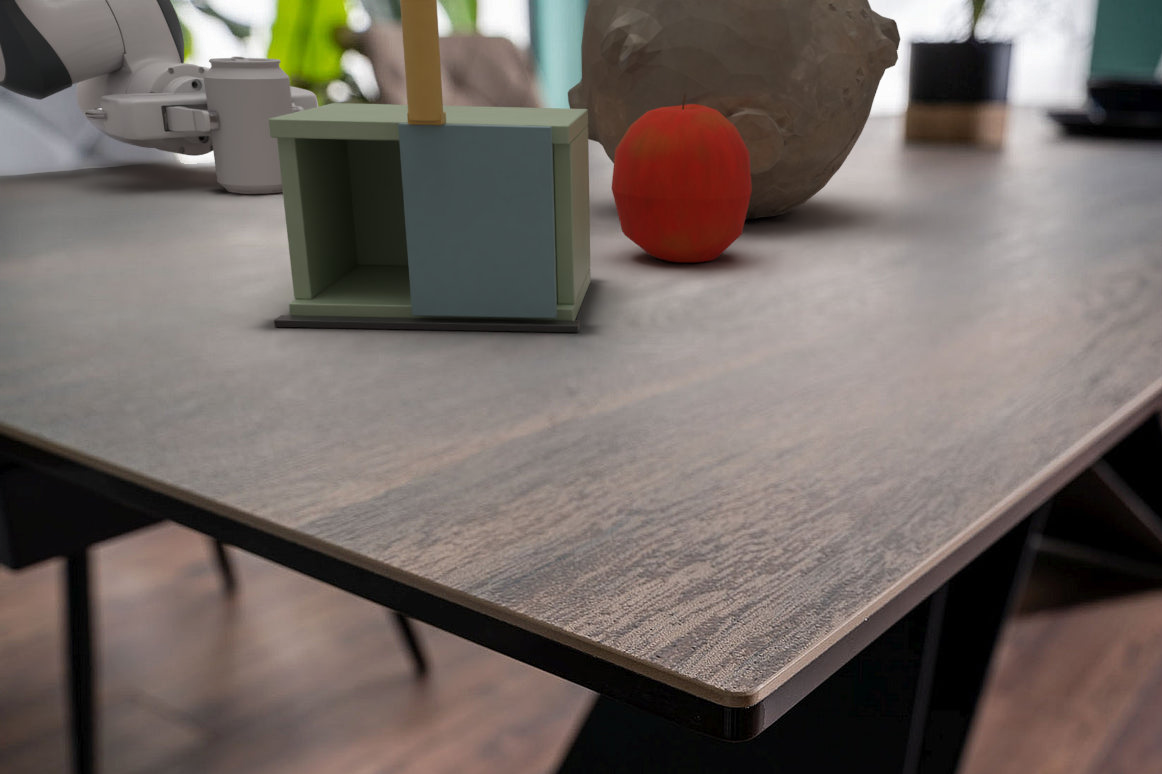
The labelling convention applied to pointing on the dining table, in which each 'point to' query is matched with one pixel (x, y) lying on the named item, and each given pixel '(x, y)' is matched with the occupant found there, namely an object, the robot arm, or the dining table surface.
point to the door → (471, 198)
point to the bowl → (742, 79)
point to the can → (247, 121)
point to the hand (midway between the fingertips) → (257, 119)
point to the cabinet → (403, 216)
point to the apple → (682, 183)
